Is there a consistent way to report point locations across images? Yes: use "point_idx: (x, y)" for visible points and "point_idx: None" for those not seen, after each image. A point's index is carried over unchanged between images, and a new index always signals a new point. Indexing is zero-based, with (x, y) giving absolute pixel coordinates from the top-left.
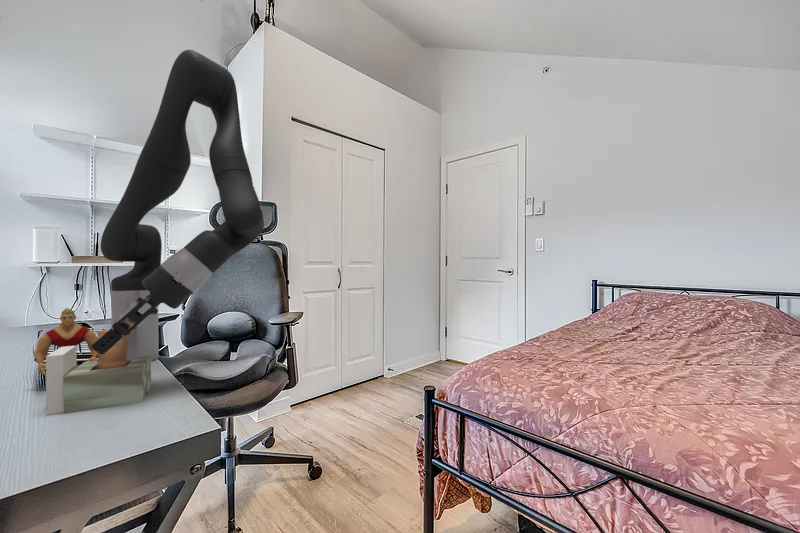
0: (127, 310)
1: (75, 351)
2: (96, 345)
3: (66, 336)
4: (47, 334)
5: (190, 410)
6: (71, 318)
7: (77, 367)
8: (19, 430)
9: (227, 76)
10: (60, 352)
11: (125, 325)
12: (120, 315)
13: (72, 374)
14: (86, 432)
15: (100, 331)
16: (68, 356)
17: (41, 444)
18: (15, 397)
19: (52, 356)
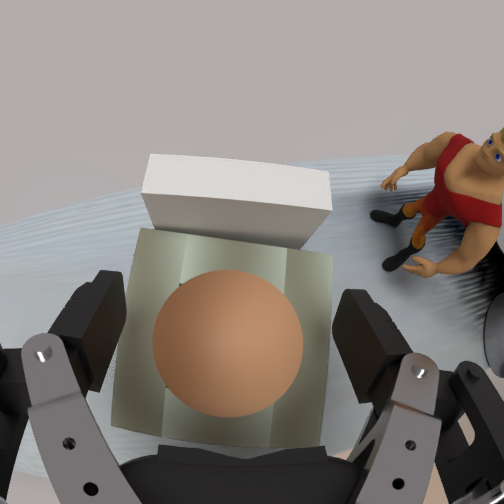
0: (41, 457)
1: (312, 217)
2: (80, 287)
3: (451, 177)
4: (451, 137)
5: (39, 465)
6: (497, 159)
7: (256, 246)
8: (108, 208)
9: None
10: (202, 178)
11: (378, 387)
12: (69, 401)
13: (156, 245)
14: (25, 307)
15: (227, 283)
16: (212, 207)
17: (23, 252)
18: (343, 168)
19: (147, 169)
